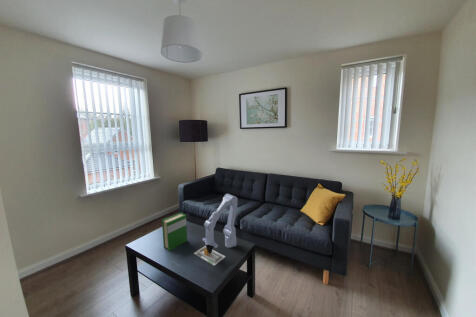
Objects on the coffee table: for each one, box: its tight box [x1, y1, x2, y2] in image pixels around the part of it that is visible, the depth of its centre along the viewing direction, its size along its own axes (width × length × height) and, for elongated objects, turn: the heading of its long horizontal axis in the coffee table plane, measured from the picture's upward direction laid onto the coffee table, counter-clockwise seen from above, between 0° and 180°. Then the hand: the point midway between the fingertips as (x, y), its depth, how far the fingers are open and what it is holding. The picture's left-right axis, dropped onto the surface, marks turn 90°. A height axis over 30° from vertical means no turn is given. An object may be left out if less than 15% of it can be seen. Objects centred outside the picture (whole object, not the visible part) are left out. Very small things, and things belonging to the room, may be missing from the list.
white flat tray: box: [193, 245, 226, 267], centre depth 145 cm, size 12×22×2 cm, turn 53°
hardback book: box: [161, 212, 188, 252], centre depth 159 cm, size 18×7×24 cm, turn 141°
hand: (210, 252), depth 144 cm, fingers closed
